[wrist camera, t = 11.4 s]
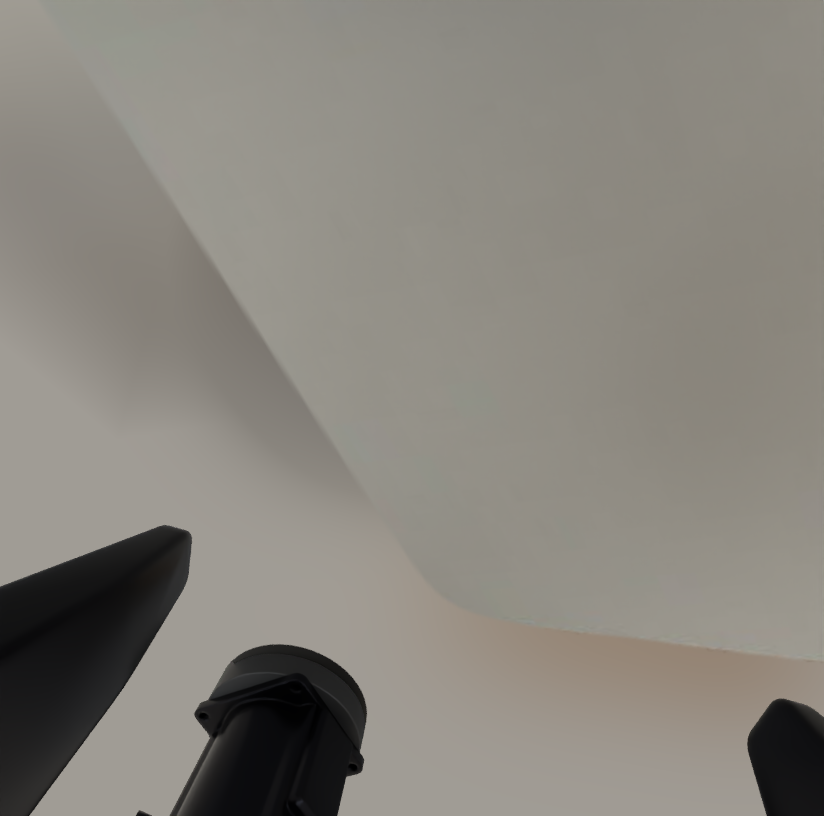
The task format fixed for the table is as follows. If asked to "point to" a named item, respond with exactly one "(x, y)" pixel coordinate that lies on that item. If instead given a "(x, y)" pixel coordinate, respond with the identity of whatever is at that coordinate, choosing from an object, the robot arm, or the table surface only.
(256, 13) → the table surface
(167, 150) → the table surface
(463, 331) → the table surface
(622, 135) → the table surface
